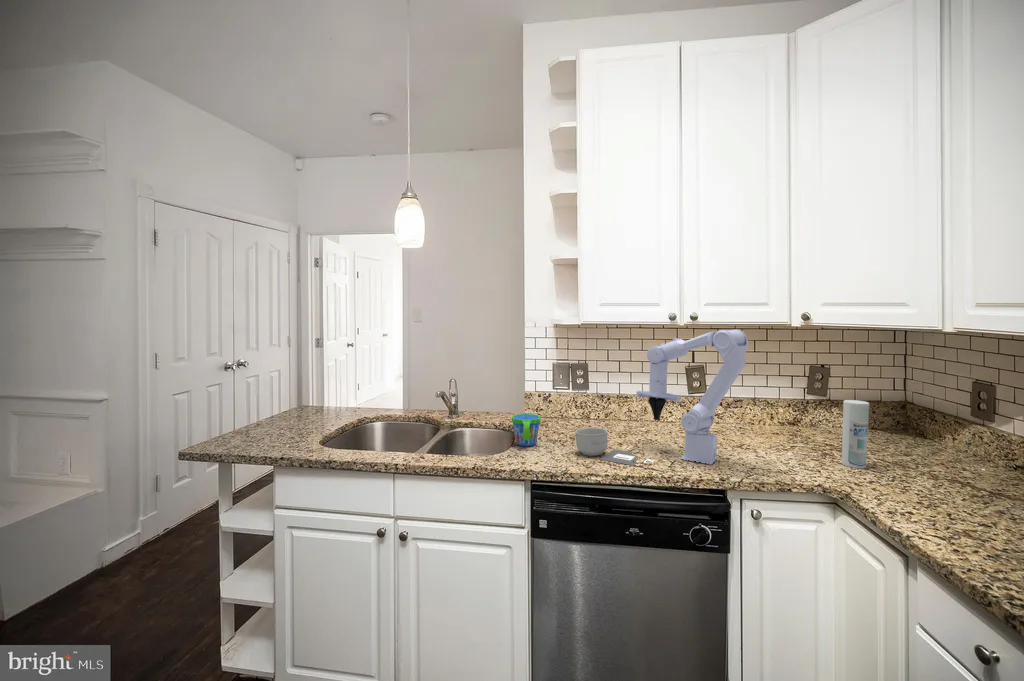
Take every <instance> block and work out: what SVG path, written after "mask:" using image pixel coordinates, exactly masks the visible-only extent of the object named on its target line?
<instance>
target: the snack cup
mask: <svg viewBox="0 0 1024 681" xmlns="http://www.w3.org/2000/svg"><path fill="white" fill-rule="evenodd" d="M541 420H542V417H541V416H540V415H538V414H534V413H533V414H532V413H520V414H518V413H517V414H514V415H512V416H511V422H512V426H513V427H512V428H513V433H514V439H515V443H516V445H517V446H520V447H532V446H536V445H537V442H538V436H539V429H540V424H541V422H542V421H541Z"/></svg>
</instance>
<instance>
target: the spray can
mask: <svg viewBox="0 0 1024 681" xmlns="http://www.w3.org/2000/svg"><path fill="white" fill-rule="evenodd" d="M869 414H870V403H869V402H867V401H864V400H856V399H845V400H843V404H842V435H841V436H842V437H841V465H842V464H843V465H842V466H844V465H845V467H847V466H848V468H851V467H853V468H852V469H860V468H862V469H866V468H867V457H868V456H867V454H868V437H869V435H868V434H869V420H870V419H869V416H870V415H869Z"/></svg>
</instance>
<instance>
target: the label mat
mask: <svg viewBox="0 0 1024 681" xmlns="http://www.w3.org/2000/svg"><path fill="white" fill-rule="evenodd" d="M632 453H633V454H636V452H630V451H626V450H621V449H620V450H619V449H613V450H611V451H609V452H607V453H606V454H605V455H603V456H601V457H600V458H599V459H598V460H600V461H606V462H610V463H611V462H612V463H615V464H620V465H625V464H626V465H627V466H631V465H634V464H636V463H637V462H636V460H637V459H636V458H637V456H635V455H633V454H632ZM634 457H635V458H634ZM633 459H635V460H633ZM647 460H648V461H651V459H646V460H645V461H644V463H651V462H652V464H654V463H653V461H654V460H652V461H651V462H646V461H647ZM633 461H634V463H633ZM626 465H625V466H626Z"/></svg>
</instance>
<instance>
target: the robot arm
mask: <svg viewBox="0 0 1024 681" xmlns="http://www.w3.org/2000/svg"><path fill="white" fill-rule="evenodd" d="M706 346H710V347H714V348H715V350H716V351H717V352H718V353H719V355H720V356H721V358H722V361H723V365H722V366H721V367H720V369H719V370H718V373H717V374H716V375H715V377H714V379H713V380H712V382H711V383H710V384H709V386H708V388H707V389H706V390H705V392H704V394H703V395H702V397H701V398H700V400H699V401H698V403H696V404H695V405H694V406H693V407H691V409H690V410H689V411H688V412H686V413H684V414H683V415H682V417H681V419H680V423H681V426H682V428H683V429H684V434H685V435H684V454H683V455H682V456H681V457H680V460H682V459H683V461H688V460H689V461H688V462H694V461H696V462H695V463H699V462H701V464H705V463H706V464H707V465H713V464H714V462H716V460H717V459H718V457H717V452H718V451H717V445H718V444H717V442H718V440H717V438H718V437H717V435H716V434H714V433H710V428H711V427H712V426H713V424H714V418H715V416H716V415H717V412H716V409H717V407H718V406H719V405H720V403H721V401H722V400H723V398H724V397H725V396H726V394H727V393H728V392H729V390H730V389H731V387H732V386H733V384H734V382H735V381H736V380H737V378H738V377H739V376H740V374H741V372H742V371H743V369H744V368H745V365H746V360H747V359H746V358H747V348H748V347H749V341H748V338H747V335H746V334H745V332H744V331H743V330H741V329H738V328H735V329H720V330H718V331H717V330H716V331H710V332H706V333H704V334H701V335H699V336H696V337H693V338H690V339H688V340H684V339H681V338H673V339H672V341H669V342H667V343H666V342H662V343H660V346H659V345H653V346H651V347H649V349H648V350H647V352H646V357H647V360H648V361H649V387H648V388H649V389H648V390H649V391H648V390H636V398H648V400H647V402H648V403H649V406H650V408H651V412H652V414H653V420H655V421H660V420H661V415H662V412H663V409H664V407H665V405H666V403H667V402H668V401H673V402H680V400H681V395H680V394H673V393H668V392H667V389H668V388H667V387H668V386H667V385H668V366H669V362H670V361H671V360H675V359H678V358H681V357H684V356H687V355H688V353H689V351H691V350H695V349H698V348H702V347H706Z"/></svg>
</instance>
